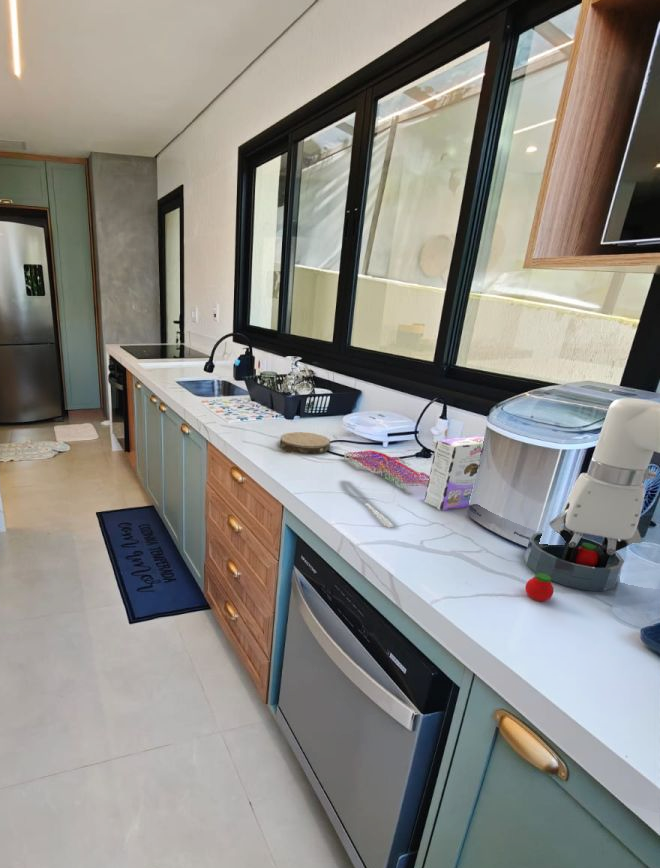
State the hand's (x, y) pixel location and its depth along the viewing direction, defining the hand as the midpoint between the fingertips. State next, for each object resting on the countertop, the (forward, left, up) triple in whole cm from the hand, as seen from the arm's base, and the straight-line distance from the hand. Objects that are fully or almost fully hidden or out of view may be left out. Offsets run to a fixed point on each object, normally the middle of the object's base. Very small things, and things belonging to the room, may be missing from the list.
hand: (581, 566), depth 92 cm
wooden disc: (+64, -56, -3) cm, 86 cm away
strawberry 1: (+8, +12, -3) cm, 15 cm away
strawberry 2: (0, 0, 0) cm, 0 cm away
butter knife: (+40, -17, -3) cm, 44 cm away
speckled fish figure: (+36, -41, -3) cm, 55 cm away
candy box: (+20, -27, -3) cm, 34 cm away
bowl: (+1, -1, -3) cm, 3 cm away
